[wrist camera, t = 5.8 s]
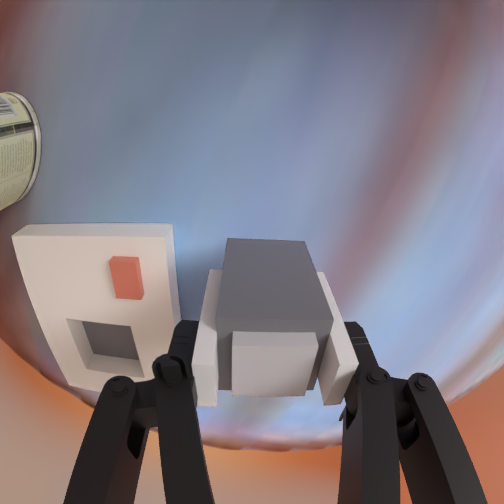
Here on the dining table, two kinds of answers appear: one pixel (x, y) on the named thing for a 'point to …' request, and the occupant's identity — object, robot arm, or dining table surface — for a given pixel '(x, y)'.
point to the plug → (270, 319)
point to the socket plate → (102, 296)
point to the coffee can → (17, 148)
